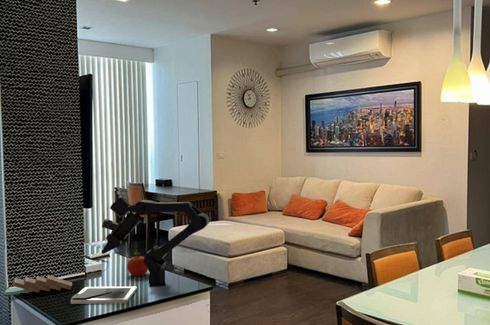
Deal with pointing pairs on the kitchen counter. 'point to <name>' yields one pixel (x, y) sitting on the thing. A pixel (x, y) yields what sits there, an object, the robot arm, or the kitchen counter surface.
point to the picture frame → (103, 295)
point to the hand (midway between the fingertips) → (102, 253)
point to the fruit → (137, 265)
